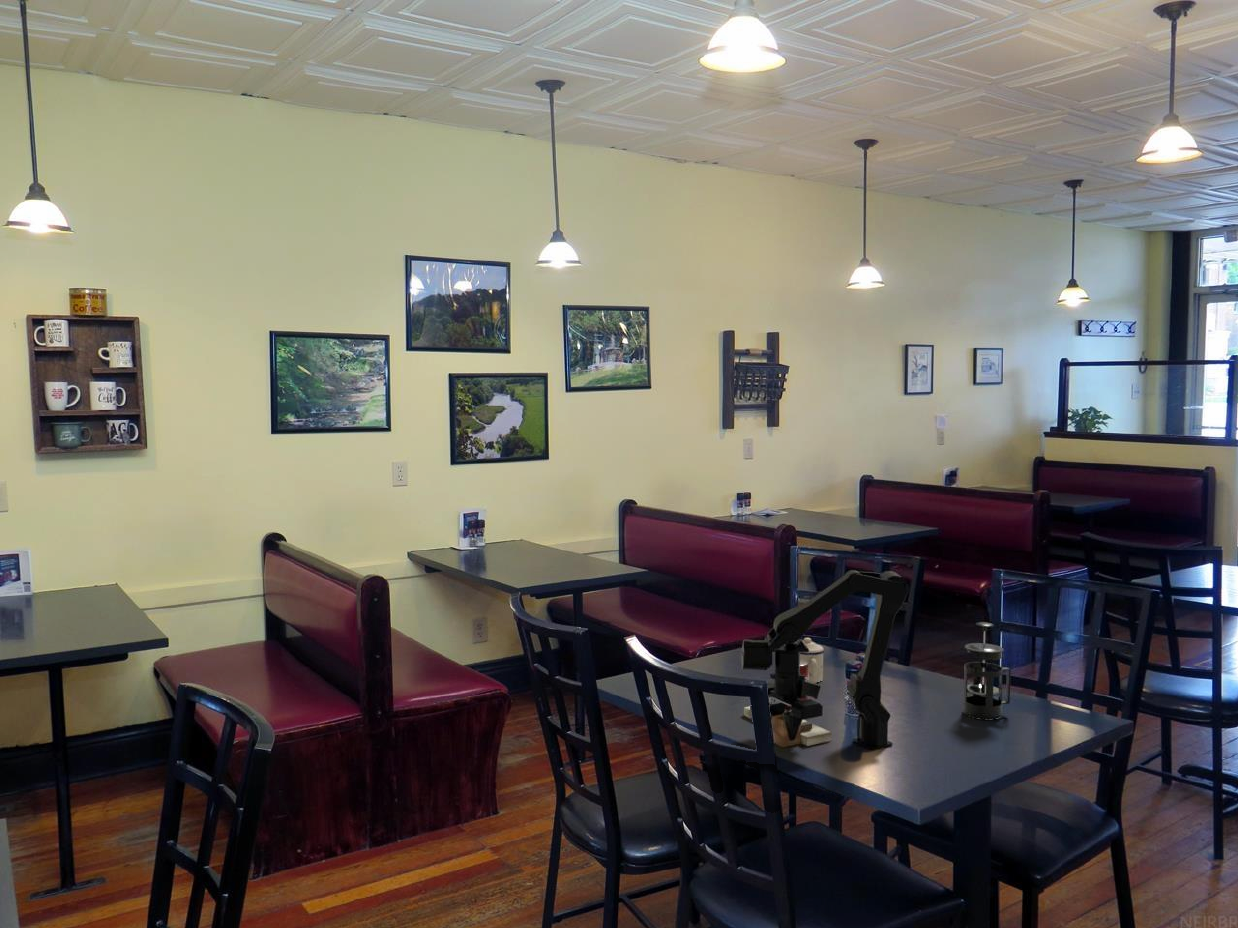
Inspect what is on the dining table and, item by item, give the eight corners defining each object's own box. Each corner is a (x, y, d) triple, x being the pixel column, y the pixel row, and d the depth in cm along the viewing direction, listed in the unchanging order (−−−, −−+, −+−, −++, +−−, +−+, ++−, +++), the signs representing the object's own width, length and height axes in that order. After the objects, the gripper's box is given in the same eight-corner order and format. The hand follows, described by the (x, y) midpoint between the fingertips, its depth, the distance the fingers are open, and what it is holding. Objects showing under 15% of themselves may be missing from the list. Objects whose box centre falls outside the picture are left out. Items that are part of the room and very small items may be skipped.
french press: (967, 720, 235) (969, 627, 233) (954, 707, 244) (956, 618, 243) (1015, 720, 235) (1018, 627, 233) (1000, 708, 244) (1003, 618, 242)
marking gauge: (815, 740, 221) (816, 711, 221) (782, 747, 217) (783, 717, 216) (804, 734, 225) (804, 706, 224) (771, 741, 220) (772, 712, 220)
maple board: (830, 740, 221) (831, 731, 221) (807, 745, 218) (807, 736, 217) (766, 710, 242) (766, 702, 242) (743, 715, 239) (743, 706, 238)
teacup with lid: (786, 675, 273) (787, 634, 272) (817, 674, 274) (818, 633, 273) (798, 687, 261) (799, 645, 260) (831, 686, 262) (832, 644, 261)
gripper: (842, 675, 214) (841, 744, 215) (788, 655, 231) (788, 719, 232) (802, 682, 209) (801, 752, 210) (751, 661, 225) (750, 727, 226)
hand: (786, 737), depth 220 cm, fingers closed on marking gauge, 4 cm apart
